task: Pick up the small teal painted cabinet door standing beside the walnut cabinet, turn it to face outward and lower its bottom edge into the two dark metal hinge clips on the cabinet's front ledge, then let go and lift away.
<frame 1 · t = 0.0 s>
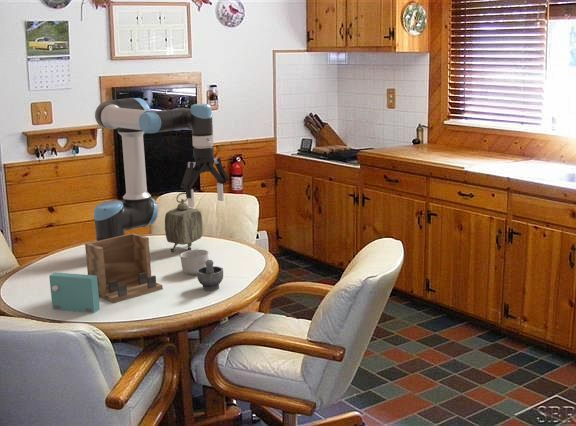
hand: (206, 203, 280), 28 cm above the table, tool pointing down, fingers open, 13 cm apart
door: (76, 309, 254), on the table
cabinet: (125, 290, 273), on the table
mortar and pestle: (210, 289, 271), on the table
teacup: (196, 271, 292), on the table
tabletop clock: (186, 250, 322), on the table
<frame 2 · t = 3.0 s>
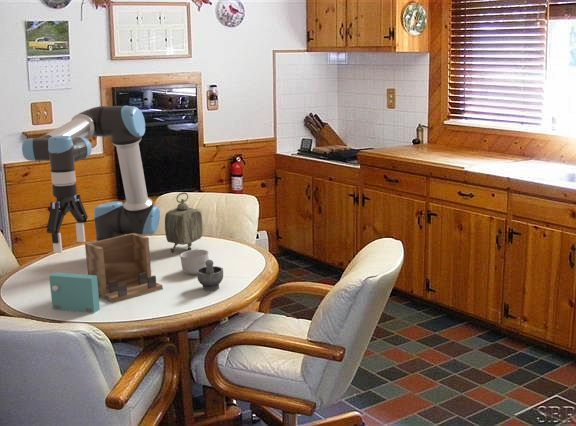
hand: (70, 247, 249), 22 cm above the table, tool pointing down, fingers open, 13 cm apart
nothing on the table moved.
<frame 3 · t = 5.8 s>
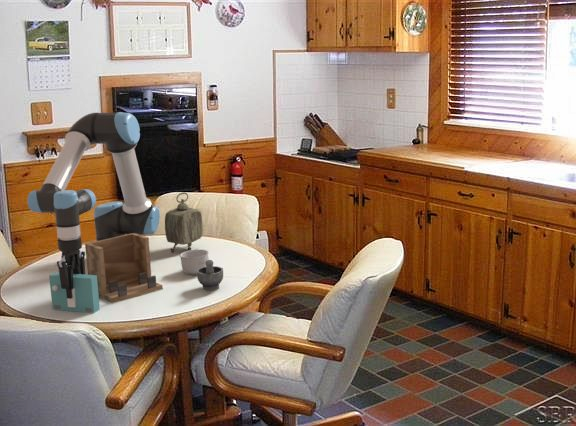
hand: (75, 304, 254), 2 cm above the table, tool pointing down, fingers closed on door, 3 cm apart
door: (76, 309, 254), on the table, touching gripper
everything else where it was.
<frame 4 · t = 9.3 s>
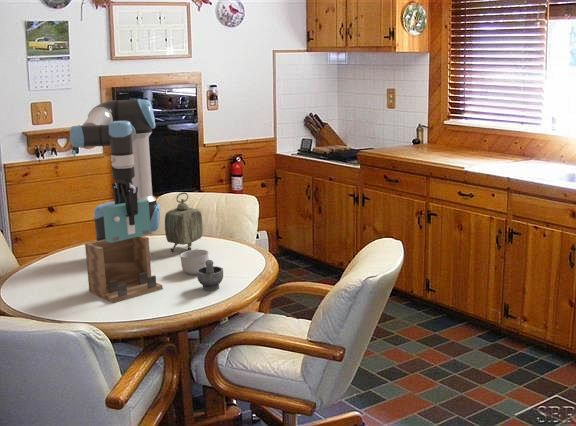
hand: (128, 232, 263), 22 cm above the table, tool pointing down, fingers closed on door, 3 cm apart
door: (128, 237, 264), point 21 cm above the table, touching gripper
everything else where it was.
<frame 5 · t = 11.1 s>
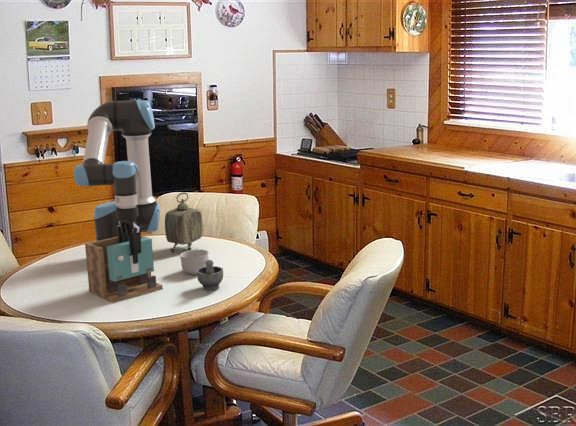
hand: (131, 270, 267), 9 cm above the table, tool pointing down, fingers closed on door, 3 cm apart
door: (132, 275, 267), point 7 cm above the table, touching gripper
everything else where it was.
when the fingers open (4 cm above the table, at t = 12.6 s): door stays where it is, resting on cabinet.
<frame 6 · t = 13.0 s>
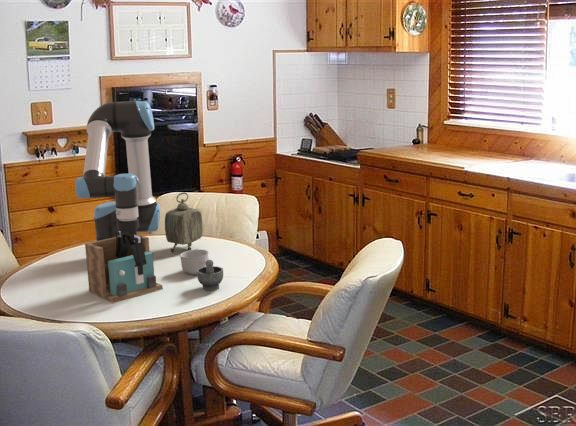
hand: (132, 280, 267), 5 cm above the table, tool pointing down, fingers open, 9 cm apart
door: (133, 289, 268), point 1 cm above the table, touching cabinet
everything else where it was.
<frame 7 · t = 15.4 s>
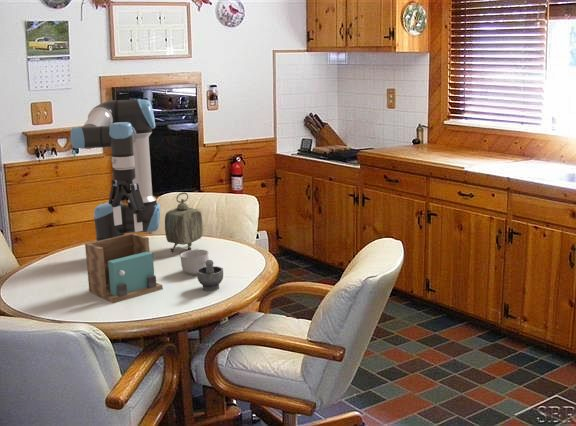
hand: (128, 228, 263), 24 cm above the table, tool pointing down, fingers open, 13 cm apart
nothing on the table moved.
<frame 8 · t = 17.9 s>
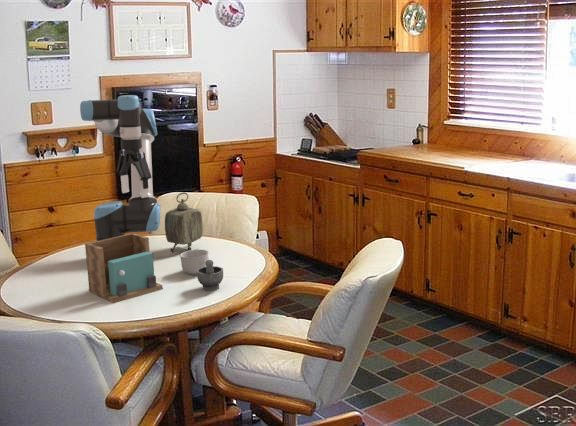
hand: (135, 194, 281), 32 cm above the table, tool pointing down, fingers open, 13 cm apart
nothing on the table moved.
at the end: door 0.0 cm from the target spot on the cabinet, point 1.5 cm above the cabinet's base; door tilted 0°; the gripper is holding nothing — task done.
